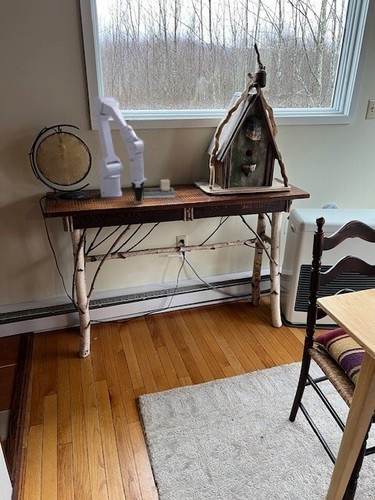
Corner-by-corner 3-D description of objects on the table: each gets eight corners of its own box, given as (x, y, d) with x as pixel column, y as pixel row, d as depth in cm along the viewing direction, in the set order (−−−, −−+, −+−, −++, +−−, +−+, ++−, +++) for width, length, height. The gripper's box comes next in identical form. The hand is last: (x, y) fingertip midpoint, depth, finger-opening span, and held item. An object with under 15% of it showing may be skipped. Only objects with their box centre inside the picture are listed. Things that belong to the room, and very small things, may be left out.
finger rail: (136, 198, 169) (135, 183, 166) (136, 193, 177) (135, 179, 174) (174, 197, 171) (174, 182, 168) (172, 192, 180) (172, 178, 177)
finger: (134, 203, 162) (133, 190, 160) (134, 201, 166) (133, 188, 163) (144, 203, 163) (143, 190, 160) (143, 200, 166) (143, 188, 164)
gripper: (146, 172, 152) (148, 203, 158) (145, 165, 165) (146, 194, 171) (129, 172, 151) (131, 204, 157) (130, 165, 164) (131, 195, 170)
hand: (138, 199), depth 164 cm, fingers open, 5 cm apart
